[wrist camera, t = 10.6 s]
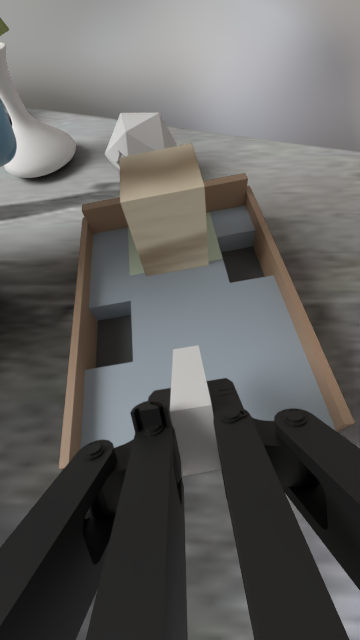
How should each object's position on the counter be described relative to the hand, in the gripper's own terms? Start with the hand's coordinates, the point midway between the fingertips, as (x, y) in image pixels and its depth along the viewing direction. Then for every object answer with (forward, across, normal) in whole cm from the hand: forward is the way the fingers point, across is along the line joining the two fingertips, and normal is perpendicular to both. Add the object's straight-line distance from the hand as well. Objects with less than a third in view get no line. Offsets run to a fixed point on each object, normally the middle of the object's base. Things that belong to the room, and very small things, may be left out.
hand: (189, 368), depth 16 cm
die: (+27, -2, +17) cm, 32 cm away
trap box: (+11, 0, +1) cm, 11 cm away
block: (+14, 0, +7) cm, 15 cm away
